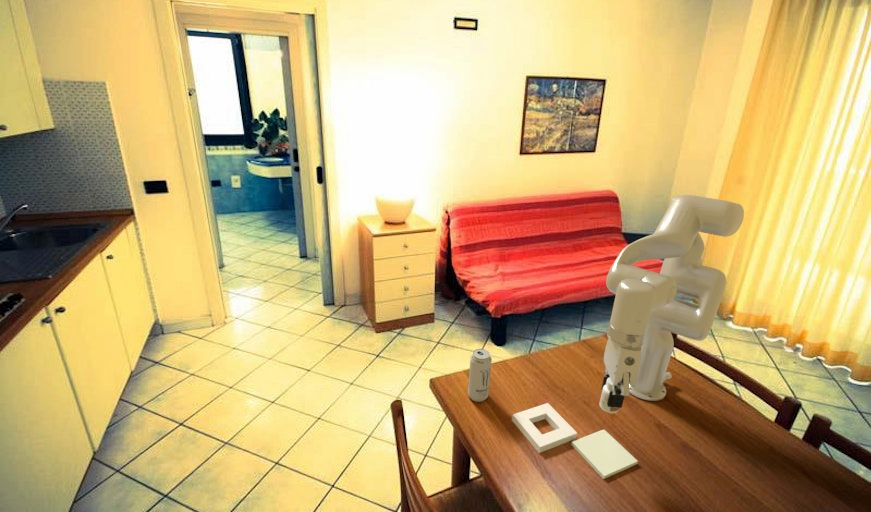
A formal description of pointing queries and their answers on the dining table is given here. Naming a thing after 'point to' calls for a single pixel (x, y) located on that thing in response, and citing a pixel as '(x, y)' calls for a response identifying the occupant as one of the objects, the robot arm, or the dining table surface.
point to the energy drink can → (479, 375)
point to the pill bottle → (605, 395)
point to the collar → (547, 440)
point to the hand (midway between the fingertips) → (611, 397)
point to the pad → (604, 453)
